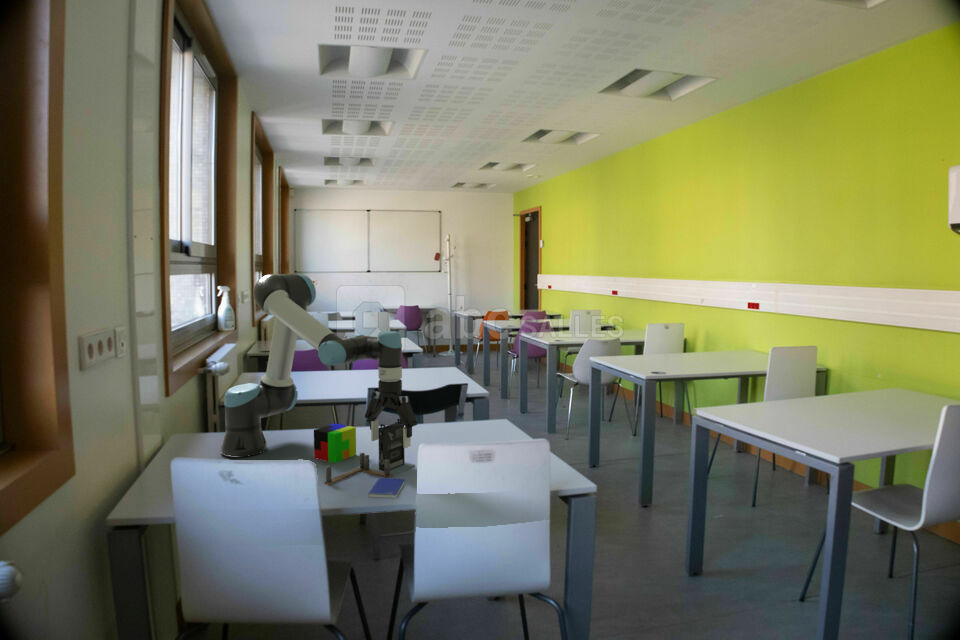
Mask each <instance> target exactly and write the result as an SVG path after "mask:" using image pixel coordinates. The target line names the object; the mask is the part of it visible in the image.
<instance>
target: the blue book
mask: <svg viewBox="0 0 960 640" xmlns="http://www.w3.org/2000/svg"><path fill="white" fill-rule="evenodd" d="M405 483H406V480H405V478H392V477H389V478H384V477H379V478H378V479H377V481H376V482H375V484H374V485H373V486H372V487H371V489H370V491H369V492H368V493H367V498H387V497H392V498H393V499H394V498H395V499H396V498H397V497H396V496H398V495H397V494H399V492H400V491H401V489H402V487H403V486H404V484H405Z"/></svg>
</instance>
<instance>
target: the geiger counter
mask: <svg viewBox="0 0 960 640" xmlns="http://www.w3.org/2000/svg"><path fill="white" fill-rule="evenodd" d="M379 426H380V427H379V428H378V433H379V439H378V463H379V470H381V471H385V460H386V459H389V460H390V470H392V469H394V468H397V467H399V466H402V465H404V464H405V462H406V461H405V459H406V458H405V448H403V428H404V427H405V425H404V424H403V422H402V420H401V419H400V418H397V422H394V423H391V424H388V425H386V424H384V423H383V424H382V423H380V425H379Z"/></svg>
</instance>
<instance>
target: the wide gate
mask: <svg viewBox="0 0 960 640" xmlns="http://www.w3.org/2000/svg"><path fill="white" fill-rule="evenodd" d="M364 455H366V454H365V453H364V452H360V453H359V467H357V468H355V469H354V468H353V469H352V470H350V471H347V472H345V473H343V474H340V475H338V476H336V477H333V478H332V465H326V466H325V481H324V485H326V484H327V485H326V486H331V485H333V484H336V483H338V482H341V481H342V479H343V480H345V479H348V478H349V476H350V477H352V476H354V475H356V473H357V474H359V473H361V472H363V470H364ZM358 472H359V473H358ZM351 475H352V476H351Z"/></svg>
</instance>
